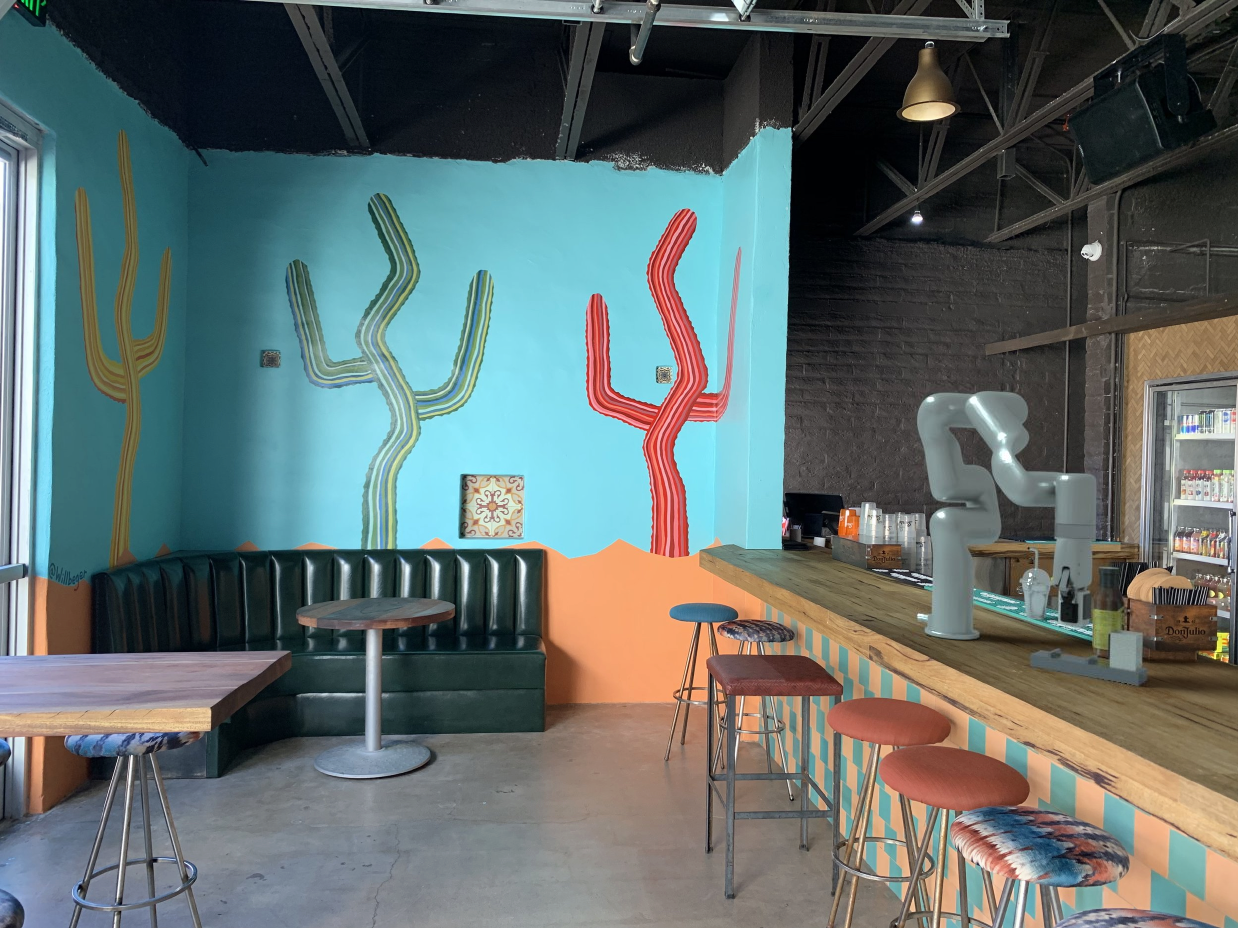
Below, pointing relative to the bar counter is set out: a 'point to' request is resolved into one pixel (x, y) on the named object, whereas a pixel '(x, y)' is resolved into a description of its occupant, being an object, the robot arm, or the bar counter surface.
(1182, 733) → the bar counter surface
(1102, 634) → the sauce bottle
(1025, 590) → the cup with straw
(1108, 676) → the rail
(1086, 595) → the finger block
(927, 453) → the robot arm
